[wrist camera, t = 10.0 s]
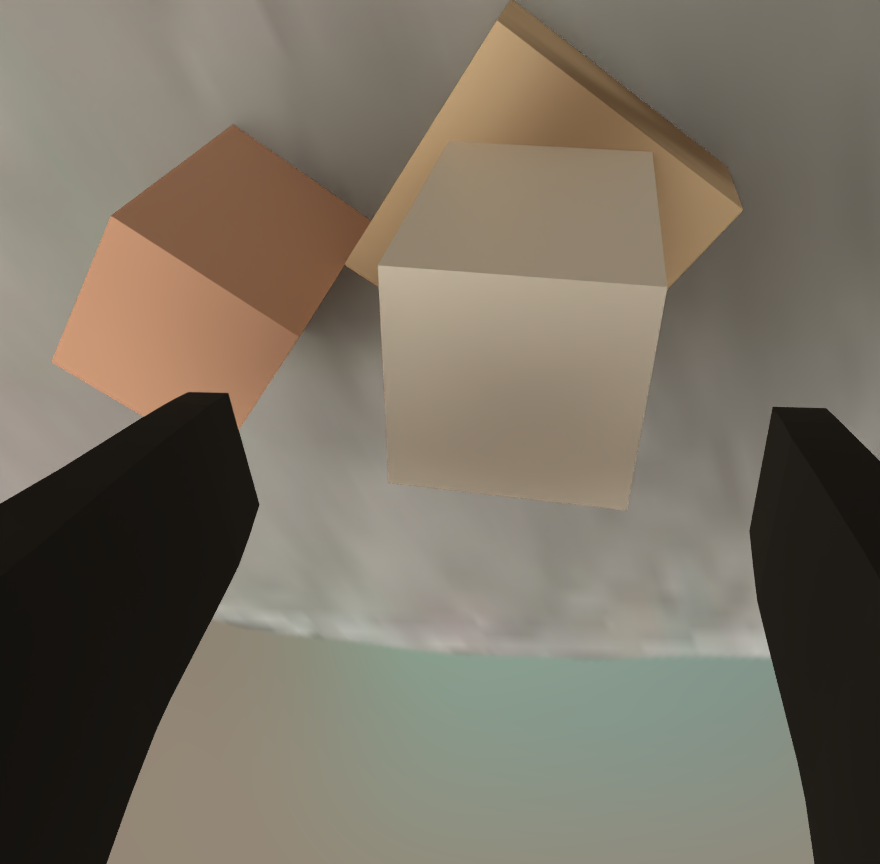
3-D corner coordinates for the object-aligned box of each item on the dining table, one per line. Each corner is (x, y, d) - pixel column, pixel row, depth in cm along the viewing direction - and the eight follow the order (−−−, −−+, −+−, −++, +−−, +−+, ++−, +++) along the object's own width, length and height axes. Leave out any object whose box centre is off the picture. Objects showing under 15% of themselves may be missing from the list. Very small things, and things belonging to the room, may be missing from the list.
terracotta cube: (372, 221, 20) (299, 337, 16) (300, 330, 23) (218, 460, 18) (233, 124, 19) (111, 215, 15) (174, 248, 22) (51, 362, 17)
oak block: (725, 162, 18) (743, 209, 16) (562, 343, 22) (556, 405, 19) (512, -4, 17) (497, 20, 15) (375, 216, 21) (343, 264, 18)
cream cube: (652, 151, 16) (667, 286, 11) (624, 333, 18) (627, 510, 13) (448, 141, 16) (377, 265, 11) (447, 318, 19) (388, 482, 14)
